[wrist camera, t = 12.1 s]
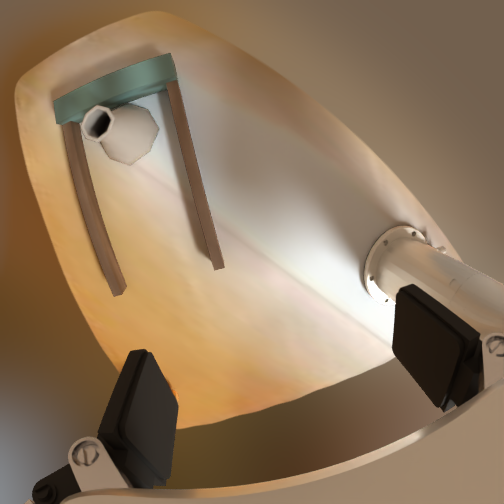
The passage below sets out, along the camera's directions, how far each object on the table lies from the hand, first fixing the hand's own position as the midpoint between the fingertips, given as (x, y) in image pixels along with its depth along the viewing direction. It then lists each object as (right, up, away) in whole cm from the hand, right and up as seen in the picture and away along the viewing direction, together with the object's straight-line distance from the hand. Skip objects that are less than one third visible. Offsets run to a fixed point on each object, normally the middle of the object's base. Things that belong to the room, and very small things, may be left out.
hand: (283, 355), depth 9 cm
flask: (-15, +18, +19) cm, 30 cm away
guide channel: (-14, +12, +20) cm, 28 cm away
